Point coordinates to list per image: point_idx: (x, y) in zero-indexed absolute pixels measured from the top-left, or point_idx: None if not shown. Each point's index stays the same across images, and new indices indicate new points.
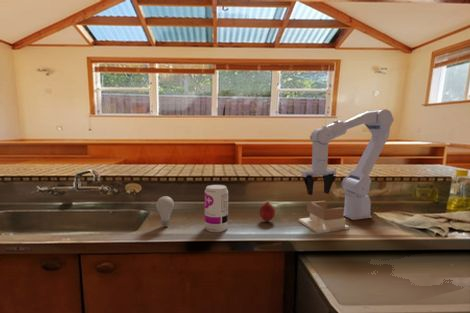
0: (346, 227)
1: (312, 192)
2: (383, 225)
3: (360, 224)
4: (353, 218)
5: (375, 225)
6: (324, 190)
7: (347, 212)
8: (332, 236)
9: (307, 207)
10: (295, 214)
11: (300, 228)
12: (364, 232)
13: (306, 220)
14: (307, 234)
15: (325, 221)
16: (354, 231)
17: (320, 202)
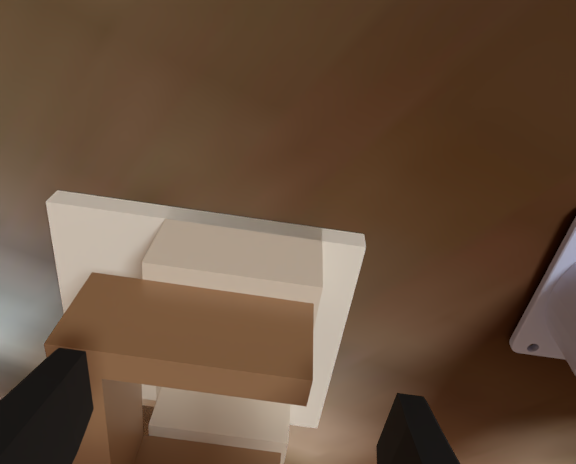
0: (295, 420)
1: (70, 457)
2: (572, 453)
3: (464, 399)
4: (520, 349)
5: (529, 437)
6: (403, 431)
7: (563, 317)
8: (143, 427)
9: (75, 302)
10: (122, 4)
11: (7, 296)
12: (355, 458)
13: (94, 257)
14: (13, 368)
15: (156, 406)
16: (316, 436)
17: (211, 389)
